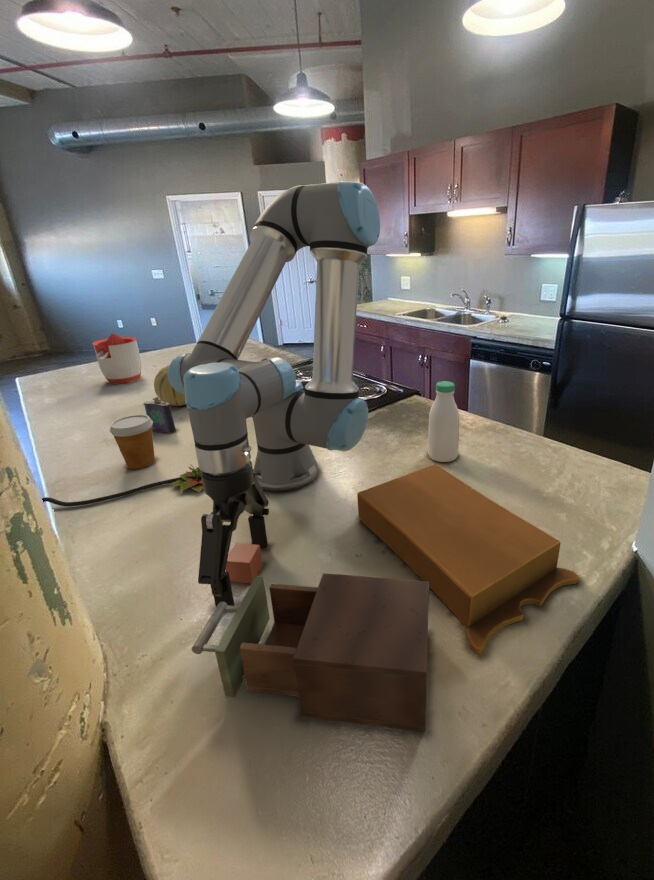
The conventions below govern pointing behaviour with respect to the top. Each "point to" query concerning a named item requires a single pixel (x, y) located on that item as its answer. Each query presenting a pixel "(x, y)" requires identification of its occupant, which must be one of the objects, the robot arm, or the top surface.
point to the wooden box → (465, 548)
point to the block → (244, 562)
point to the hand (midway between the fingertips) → (244, 574)
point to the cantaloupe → (167, 389)
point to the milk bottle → (443, 424)
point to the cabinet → (365, 652)
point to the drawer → (240, 642)
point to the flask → (160, 415)
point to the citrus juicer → (118, 358)
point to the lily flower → (190, 480)
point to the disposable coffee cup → (134, 440)
